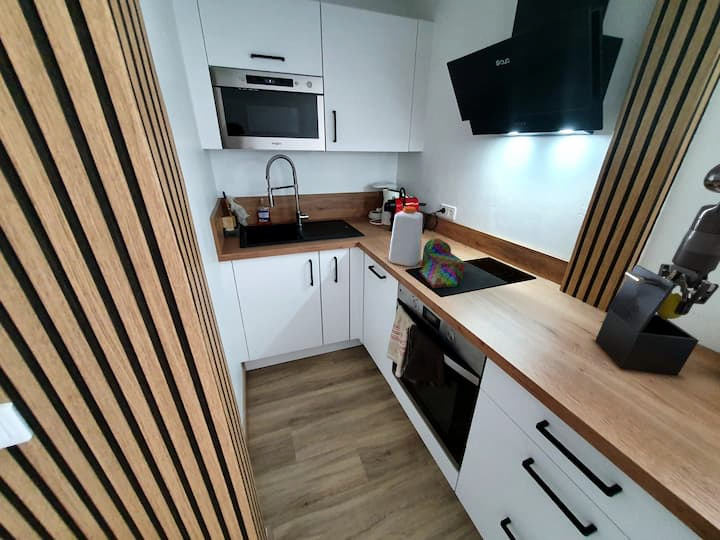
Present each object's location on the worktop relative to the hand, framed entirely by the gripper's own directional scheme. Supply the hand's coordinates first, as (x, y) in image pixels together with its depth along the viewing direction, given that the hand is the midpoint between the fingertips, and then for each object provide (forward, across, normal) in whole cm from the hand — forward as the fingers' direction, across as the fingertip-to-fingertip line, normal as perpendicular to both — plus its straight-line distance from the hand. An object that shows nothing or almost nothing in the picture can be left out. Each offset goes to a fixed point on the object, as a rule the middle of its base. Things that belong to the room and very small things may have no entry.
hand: (669, 307), depth 76 cm
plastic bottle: (+17, +63, +71) cm, 96 cm away
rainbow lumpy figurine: (+17, +48, +55) cm, 75 cm away
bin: (+17, 0, +3) cm, 17 cm away
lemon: (+4, 0, 0) cm, 4 cm away
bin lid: (-2, 0, +8) cm, 8 cm away
